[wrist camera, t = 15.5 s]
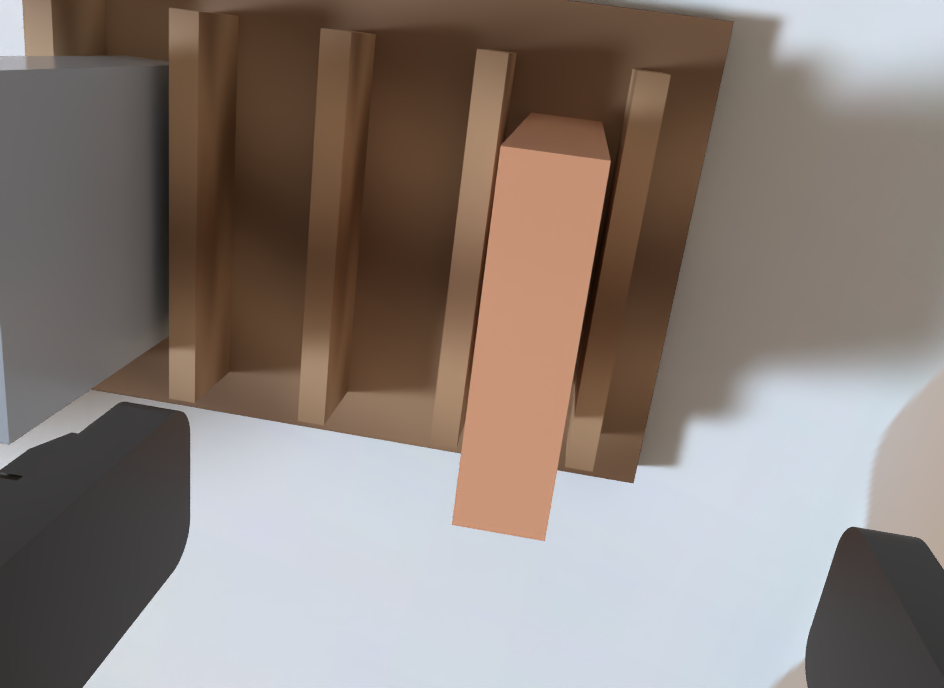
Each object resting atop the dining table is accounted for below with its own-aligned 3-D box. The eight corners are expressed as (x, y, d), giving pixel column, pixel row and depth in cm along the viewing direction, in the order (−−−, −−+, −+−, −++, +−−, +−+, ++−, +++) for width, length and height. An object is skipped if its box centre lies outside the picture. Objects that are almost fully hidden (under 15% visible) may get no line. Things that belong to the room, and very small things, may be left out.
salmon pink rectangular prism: (531, 112, 24) (500, 145, 15) (602, 121, 23) (610, 161, 15) (495, 373, 26) (452, 524, 18) (558, 383, 26) (545, 540, 18)
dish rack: (49, -64, 25) (-42, -84, 21) (726, 23, 23) (752, 17, 20) (68, 369, 30) (-3, 412, 26) (631, 466, 28) (637, 526, 24)
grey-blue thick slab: (125, 55, 24) (-117, 57, 16) (190, 64, 24) (-19, 70, 16) (130, 313, 27) (-74, 429, 19) (189, 322, 27) (9, 444, 19)
